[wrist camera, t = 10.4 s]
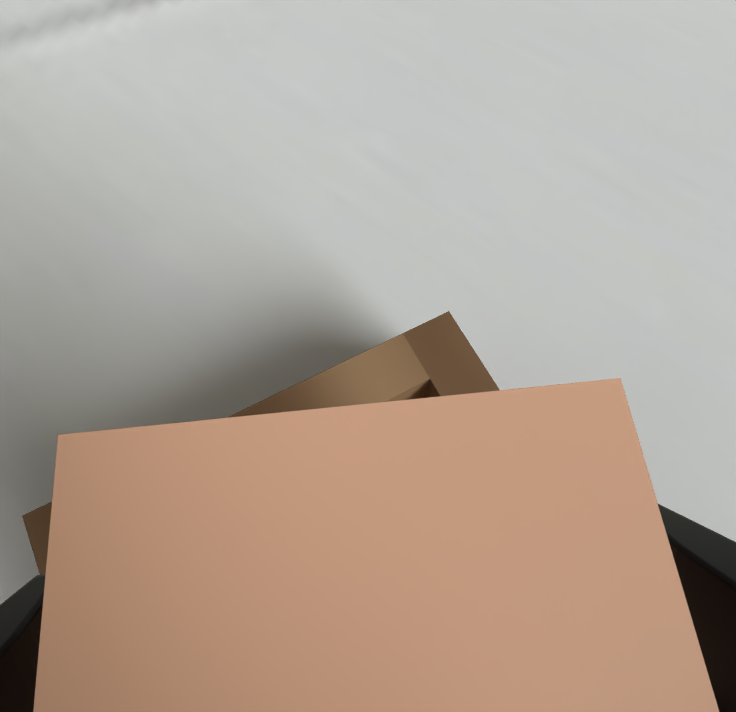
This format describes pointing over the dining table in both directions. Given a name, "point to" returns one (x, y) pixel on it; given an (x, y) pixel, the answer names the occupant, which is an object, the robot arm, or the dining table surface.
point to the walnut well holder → (358, 388)
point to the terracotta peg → (368, 563)
